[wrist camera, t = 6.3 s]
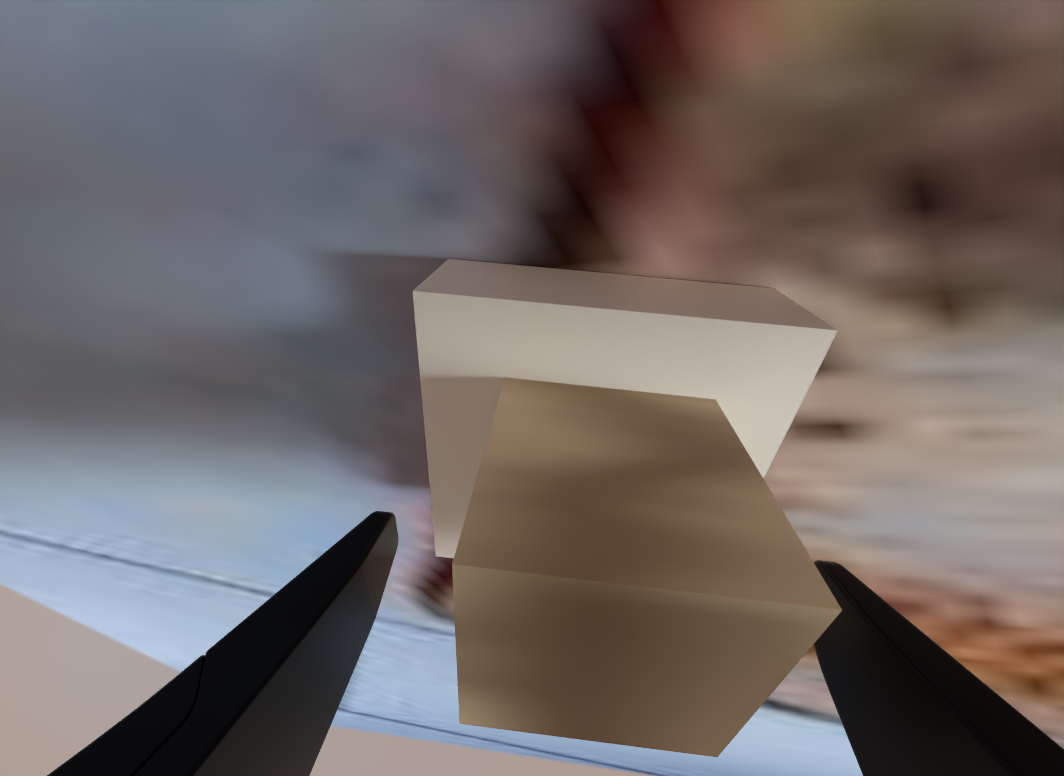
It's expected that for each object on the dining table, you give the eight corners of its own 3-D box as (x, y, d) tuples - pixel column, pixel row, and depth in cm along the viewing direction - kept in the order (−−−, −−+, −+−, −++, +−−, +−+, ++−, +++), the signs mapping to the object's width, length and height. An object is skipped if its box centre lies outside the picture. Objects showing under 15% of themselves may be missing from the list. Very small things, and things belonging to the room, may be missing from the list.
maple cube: (715, 399, 9) (842, 609, 5) (663, 539, 12) (717, 756, 8) (504, 377, 9) (452, 563, 5) (498, 520, 12) (459, 723, 8)
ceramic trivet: (773, 288, 11) (837, 330, 8) (685, 514, 15) (708, 587, 13) (448, 258, 11) (412, 291, 9) (457, 490, 16) (435, 556, 13)
